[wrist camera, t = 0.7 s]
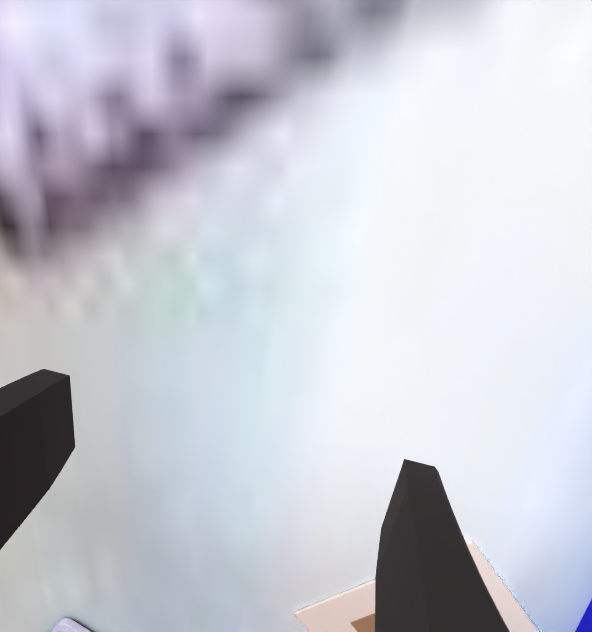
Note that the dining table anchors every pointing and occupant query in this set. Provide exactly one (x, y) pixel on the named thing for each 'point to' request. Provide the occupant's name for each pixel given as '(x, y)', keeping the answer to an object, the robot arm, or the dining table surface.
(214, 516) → the dining table surface
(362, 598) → the page
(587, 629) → the building blocks toy
